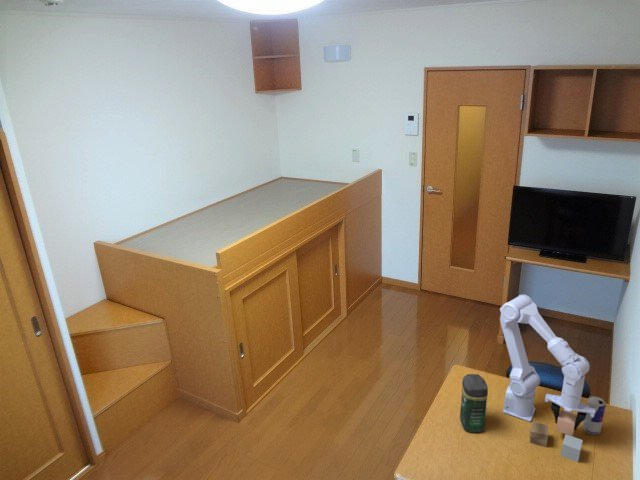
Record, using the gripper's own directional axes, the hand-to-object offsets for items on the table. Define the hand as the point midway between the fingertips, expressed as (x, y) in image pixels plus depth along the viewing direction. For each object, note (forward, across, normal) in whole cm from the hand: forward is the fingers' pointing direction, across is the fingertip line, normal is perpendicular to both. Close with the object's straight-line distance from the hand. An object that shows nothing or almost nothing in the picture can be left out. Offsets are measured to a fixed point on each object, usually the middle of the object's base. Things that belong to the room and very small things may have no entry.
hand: (566, 424), depth 161 cm
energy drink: (+5, +7, +8) cm, 12 cm away
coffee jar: (+5, -28, -10) cm, 30 cm away
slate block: (+5, +3, -7) cm, 9 cm away
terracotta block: (+2, 0, 0) cm, 2 cm away
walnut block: (+5, -7, -6) cm, 10 cm away
